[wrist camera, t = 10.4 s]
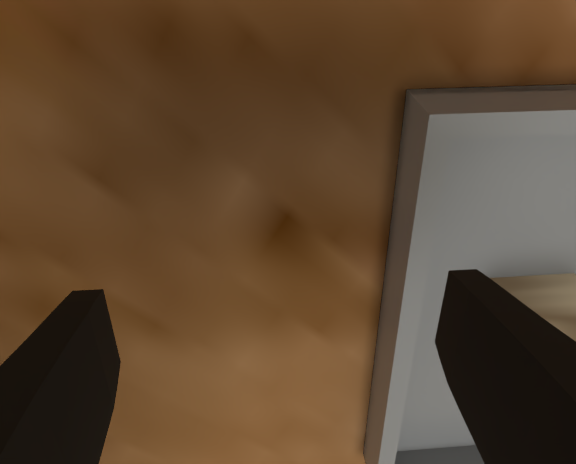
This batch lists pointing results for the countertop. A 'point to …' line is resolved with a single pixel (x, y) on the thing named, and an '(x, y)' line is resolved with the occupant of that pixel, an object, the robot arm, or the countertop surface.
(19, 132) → the countertop surface
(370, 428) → the tray
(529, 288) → the block
